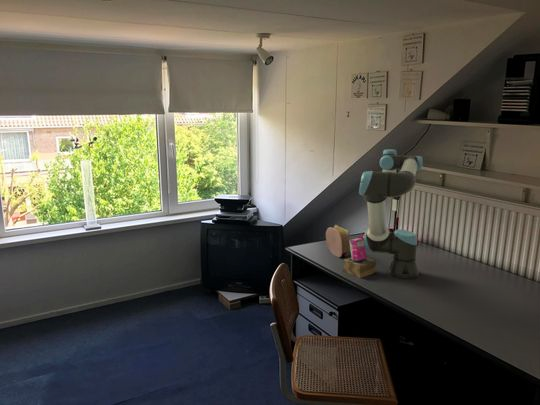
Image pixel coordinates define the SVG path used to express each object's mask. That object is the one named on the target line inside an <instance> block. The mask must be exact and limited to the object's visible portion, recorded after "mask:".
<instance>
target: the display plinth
mask: <svg viewBox="0 0 540 405" xmlns="http://www.w3.org/2000/svg"><path fill="white" fill-rule="evenodd" d="M366 259H367V260H363V261H352V256H351V257H348V258H344V259H343V272H344V273H346V274H349V275H352V276H353V277H356V278H359V279H361V278H364V277H367V276H370V275H373V274H375V273H376V268H377V266H376V264H377V262H376V261H377V260H374V259H371V258H368V257H366Z"/></svg>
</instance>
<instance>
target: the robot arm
mask: <svg viewBox="0 0 540 405" xmlns="http://www.w3.org/2000/svg"><path fill="white" fill-rule="evenodd" d="M379 166H380V168H382V171H373V170H369V171H368V170H367V171H363V172H362V175H361V178H360V183H359V190H358V191H359V192H358V194H359V196H363V199H364V201H366V205H367V215H368V228H367V230H365V231H364V235H363V236H364V237H363V239H364V245H365V251H366V252H367V251H368V252H371V253H377V254H387V255H393V256H392V259H391V263H390V265H389V267H388V274H389V275H390V276H392V277H394V278H397V279H401V280H403V279H404V280H410V279H411V280H412V279H413V280H414V279H416V278H418V277H419V272H420V271H419V268H418V264H417V246H418V236H417V234H416V233H415V232H412V231H410V230H408V229H407V230H406V229H402V228H401V229H395V230H394V232H392V231H390V230H389V228H388V226H387V217H386V201H387V199H388V198H393V199H392V206H391V207H392V208H391V210H392V211H395V212H397V211H398V201H399V200H400V198H401V196H404V195H406V194H408V193H409V192H411V191H412V190H413V189H414V187H415V186H416V183H417V182H416V180H417V179H416V174H417V171H422V169H423V157H422V156H420V155H398V154H397V150H396V149H389V148H388V149H384V150H383V151H382V157H381V158H380V160H379ZM397 170H400V171H399V172H397Z"/></svg>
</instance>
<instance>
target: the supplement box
mask: <svg viewBox="0 0 540 405" xmlns="http://www.w3.org/2000/svg"><path fill="white" fill-rule="evenodd" d="M349 241H350V255H351V257H352V261H363V260H367V259H366V258H367V253H366V252H367V251H366V248H365V245H364V238H354V239H350V240H349Z"/></svg>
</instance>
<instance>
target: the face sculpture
mask: <svg viewBox="0 0 540 405" xmlns="http://www.w3.org/2000/svg"><path fill="white" fill-rule="evenodd" d="M325 240H326V246H327V249H328V250H329V252H330V253H331V254H332V255H334V256H336V257H337V258H339V259H340V258H341V257H348V256H349V254H350V252H351V249H350V241H349V240H351V239H350V231H349V230H348V229H345V228H344V227H341V226H338V224H334V226H333V227H331V226H330V227H328V228H327V229H326V232H325Z"/></svg>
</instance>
